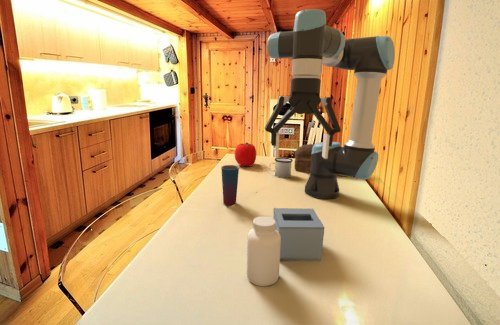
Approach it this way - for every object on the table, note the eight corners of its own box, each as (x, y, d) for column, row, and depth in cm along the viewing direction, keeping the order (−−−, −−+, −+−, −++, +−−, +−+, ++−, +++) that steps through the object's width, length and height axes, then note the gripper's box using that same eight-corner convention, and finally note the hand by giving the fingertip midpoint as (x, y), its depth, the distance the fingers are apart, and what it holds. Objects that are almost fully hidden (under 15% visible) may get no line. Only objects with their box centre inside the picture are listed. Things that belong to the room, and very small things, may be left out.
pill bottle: (245, 267, 74) (246, 213, 70) (275, 266, 75) (278, 213, 71) (247, 287, 66) (249, 229, 62) (281, 286, 67) (285, 228, 63)
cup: (235, 207, 110) (236, 170, 106) (218, 205, 112) (219, 168, 108) (239, 201, 117) (240, 165, 113) (223, 199, 118) (224, 164, 114)
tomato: (248, 169, 162) (248, 146, 158) (228, 165, 169) (229, 142, 165) (262, 164, 174) (263, 142, 171) (243, 160, 181) (244, 139, 178)
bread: (295, 165, 175) (297, 139, 171) (350, 171, 166) (353, 144, 162) (292, 171, 162) (294, 143, 158) (351, 178, 153) (354, 149, 149)
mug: (291, 173, 156) (293, 157, 154) (291, 179, 147) (292, 162, 145) (270, 172, 158) (271, 156, 156) (268, 177, 149) (268, 160, 147)
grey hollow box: (310, 238, 89) (313, 208, 87) (321, 260, 78) (324, 227, 75) (272, 237, 89) (273, 208, 86) (277, 260, 77) (279, 226, 75)
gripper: (347, 78, 78) (339, 154, 83) (256, 76, 76) (254, 153, 82) (359, 78, 70) (349, 161, 76) (259, 75, 69) (256, 160, 75)
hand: (300, 157), depth 79 cm, fingers open, 13 cm apart
